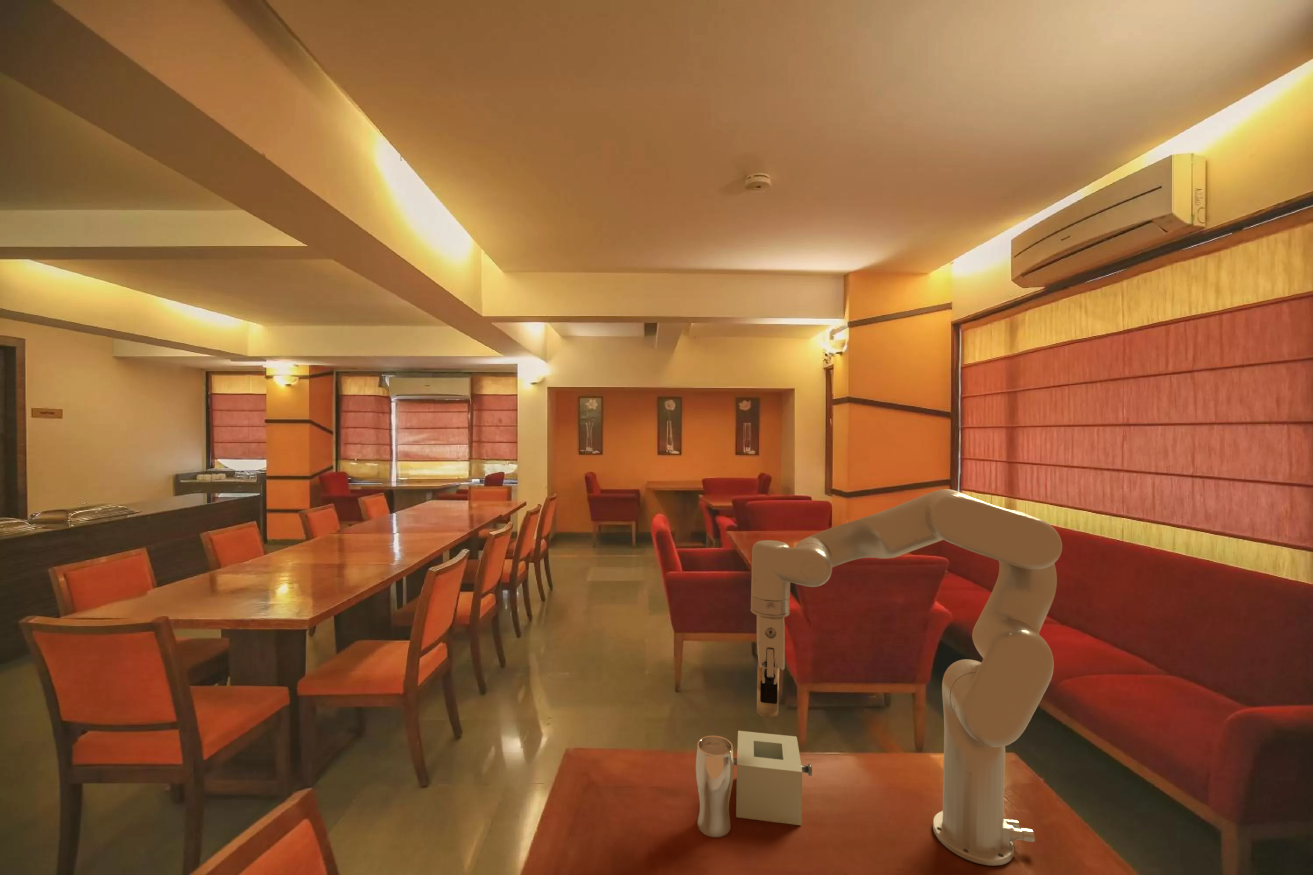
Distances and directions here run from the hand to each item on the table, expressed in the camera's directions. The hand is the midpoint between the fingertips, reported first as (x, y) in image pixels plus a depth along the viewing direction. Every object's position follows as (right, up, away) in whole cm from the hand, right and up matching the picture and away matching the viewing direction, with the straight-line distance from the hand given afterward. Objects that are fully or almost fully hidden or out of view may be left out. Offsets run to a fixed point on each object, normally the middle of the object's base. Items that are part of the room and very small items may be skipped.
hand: (768, 695), depth 109 cm
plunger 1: (-5, -15, +1) cm, 16 cm away
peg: (0, -3, 0) cm, 3 cm away
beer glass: (-11, -21, -7) cm, 25 cm away
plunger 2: (+5, -15, -1) cm, 16 cm away
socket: (0, -21, 0) cm, 21 cm away
